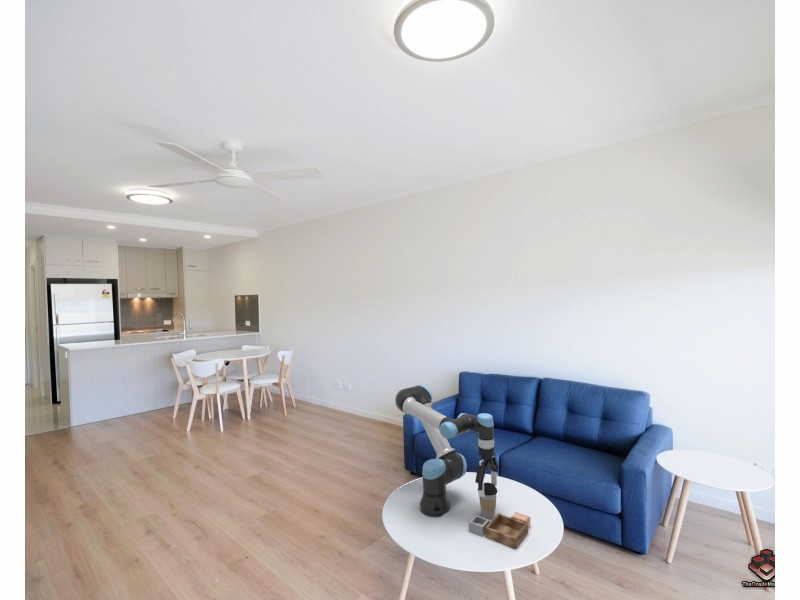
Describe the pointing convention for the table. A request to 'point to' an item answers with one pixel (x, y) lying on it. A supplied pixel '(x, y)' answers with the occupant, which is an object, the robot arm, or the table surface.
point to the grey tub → (476, 527)
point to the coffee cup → (488, 501)
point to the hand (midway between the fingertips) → (488, 490)
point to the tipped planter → (522, 518)
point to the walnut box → (506, 530)
